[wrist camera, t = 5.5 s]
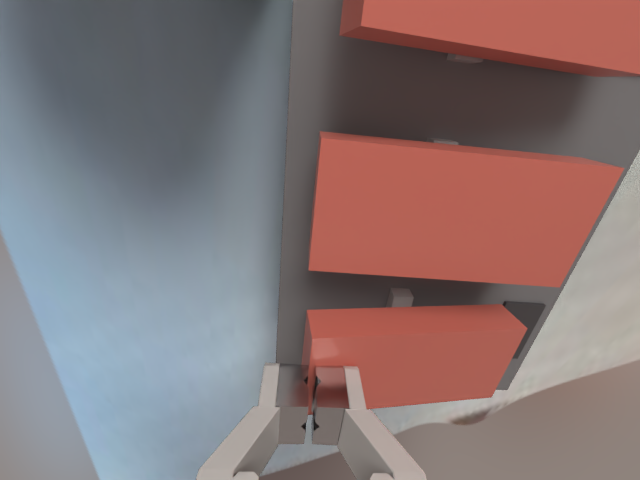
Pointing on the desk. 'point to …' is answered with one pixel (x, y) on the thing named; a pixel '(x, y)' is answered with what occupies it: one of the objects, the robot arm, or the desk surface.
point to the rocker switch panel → (438, 127)
